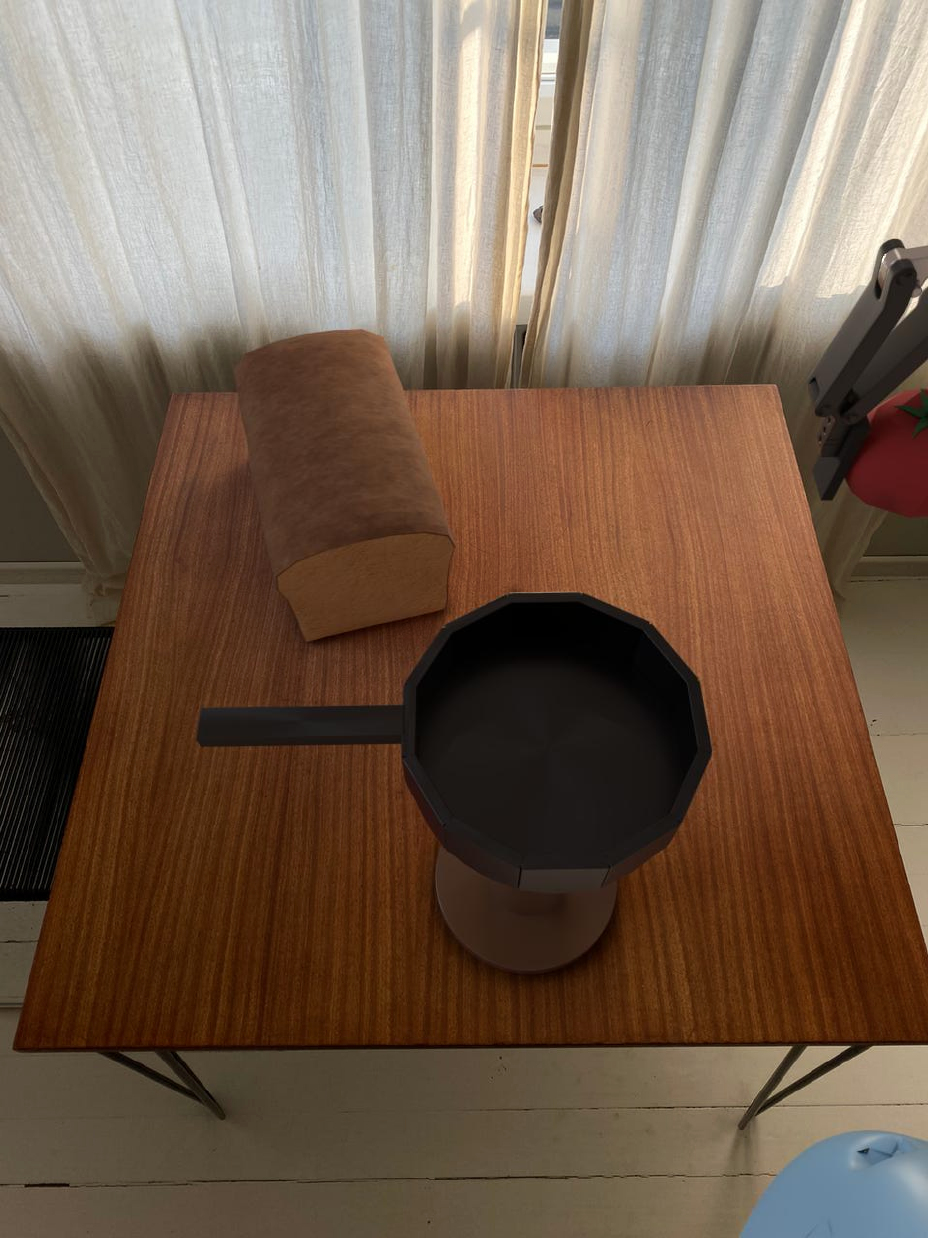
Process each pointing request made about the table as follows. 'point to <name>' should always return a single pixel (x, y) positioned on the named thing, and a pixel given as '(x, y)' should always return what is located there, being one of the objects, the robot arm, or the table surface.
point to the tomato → (895, 457)
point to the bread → (342, 483)
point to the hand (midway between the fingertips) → (888, 483)
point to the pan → (527, 764)
